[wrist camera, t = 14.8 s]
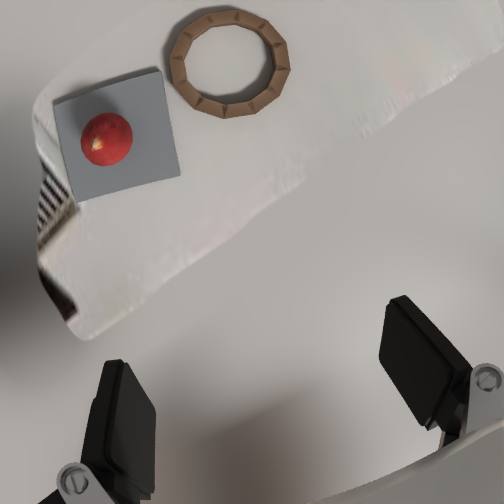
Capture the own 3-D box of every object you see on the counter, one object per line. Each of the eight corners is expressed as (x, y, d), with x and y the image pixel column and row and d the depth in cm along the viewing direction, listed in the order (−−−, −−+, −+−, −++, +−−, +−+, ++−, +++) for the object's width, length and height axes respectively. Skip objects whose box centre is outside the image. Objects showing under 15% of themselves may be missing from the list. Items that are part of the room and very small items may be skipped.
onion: (85, 128, 30) (58, 133, 23) (126, 103, 30) (107, 101, 23) (105, 169, 33) (83, 183, 26) (146, 146, 33) (132, 154, 26)
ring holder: (276, 10, 29) (279, 7, 27) (292, 109, 35) (296, 109, 33) (164, 24, 28) (163, 21, 26) (181, 126, 34) (180, 127, 32)
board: (161, 72, 30) (160, 70, 29) (180, 173, 36) (180, 175, 35) (57, 106, 29) (53, 105, 28) (79, 200, 35) (76, 203, 34)
